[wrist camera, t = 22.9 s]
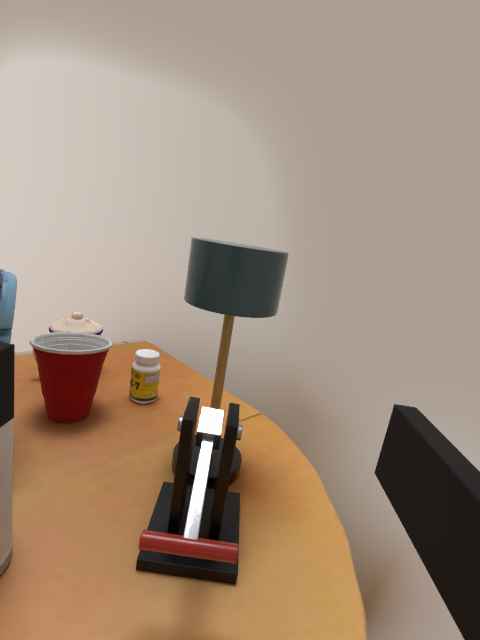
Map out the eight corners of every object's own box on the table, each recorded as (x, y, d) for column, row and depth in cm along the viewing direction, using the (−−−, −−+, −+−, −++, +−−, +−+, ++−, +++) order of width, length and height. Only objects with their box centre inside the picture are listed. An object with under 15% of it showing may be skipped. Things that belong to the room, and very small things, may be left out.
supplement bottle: (125, 393, 61) (128, 349, 59) (150, 389, 64) (154, 347, 62) (135, 406, 58) (139, 359, 56) (161, 401, 60) (166, 356, 59)
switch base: (235, 584, 31) (262, 450, 28) (135, 570, 31) (150, 433, 28) (238, 501, 41) (258, 394, 37) (162, 490, 40) (176, 381, 37)
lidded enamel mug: (84, 359, 73) (87, 305, 70) (109, 374, 68) (113, 317, 65) (21, 371, 63) (22, 309, 60) (44, 390, 58) (46, 323, 55)
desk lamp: (154, 488, 40) (183, 237, 34) (173, 436, 51) (199, 237, 44) (246, 502, 41) (294, 255, 34) (247, 447, 51) (283, 251, 45)
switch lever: (234, 568, 25) (238, 557, 24) (139, 554, 25) (137, 542, 24) (245, 428, 35) (249, 413, 33) (176, 417, 35) (177, 402, 33)
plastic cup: (113, 398, 59) (118, 331, 56) (99, 434, 49) (104, 354, 46) (44, 393, 57) (46, 323, 54) (14, 430, 47) (14, 346, 44)
